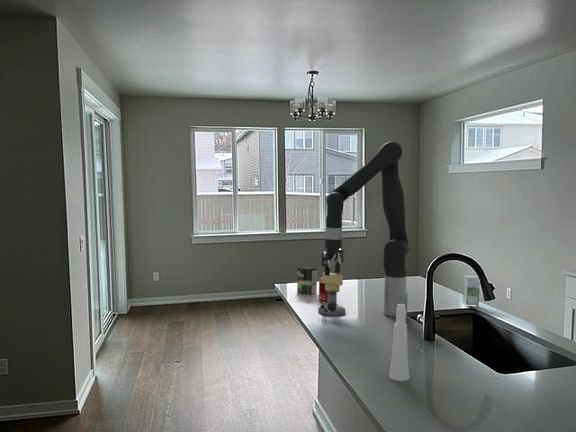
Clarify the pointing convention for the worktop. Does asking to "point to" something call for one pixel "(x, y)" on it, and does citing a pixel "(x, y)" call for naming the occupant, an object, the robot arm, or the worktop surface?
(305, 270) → the coffee can
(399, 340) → the cosmetic bottle
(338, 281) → the door handle
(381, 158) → the robot arm
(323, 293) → the canned food
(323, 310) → the round metal flange
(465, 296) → the syrup box
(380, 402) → the worktop surface
